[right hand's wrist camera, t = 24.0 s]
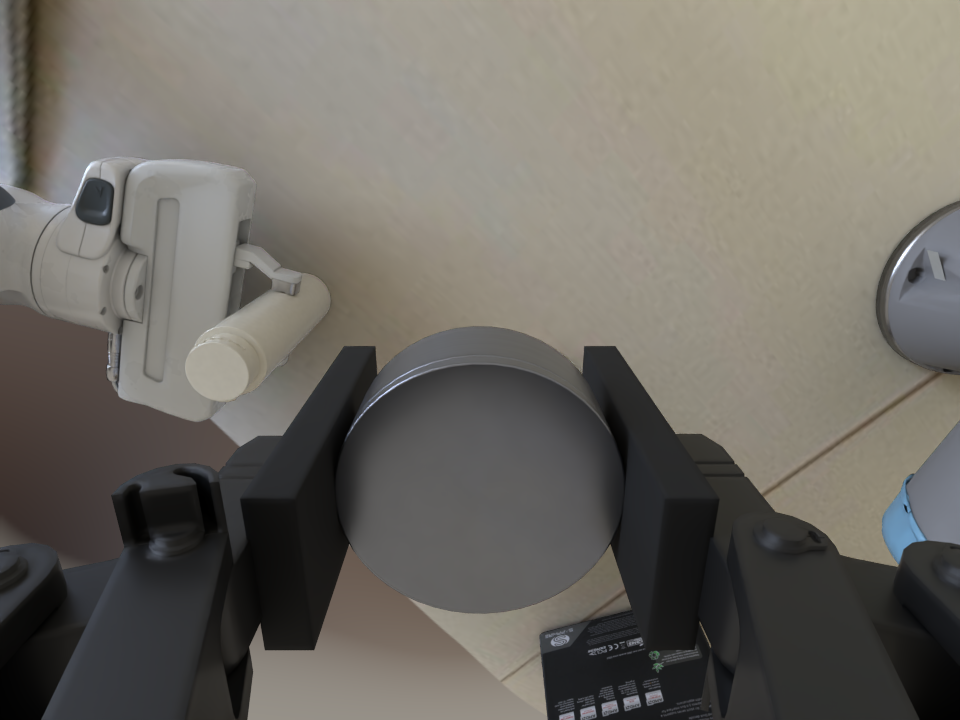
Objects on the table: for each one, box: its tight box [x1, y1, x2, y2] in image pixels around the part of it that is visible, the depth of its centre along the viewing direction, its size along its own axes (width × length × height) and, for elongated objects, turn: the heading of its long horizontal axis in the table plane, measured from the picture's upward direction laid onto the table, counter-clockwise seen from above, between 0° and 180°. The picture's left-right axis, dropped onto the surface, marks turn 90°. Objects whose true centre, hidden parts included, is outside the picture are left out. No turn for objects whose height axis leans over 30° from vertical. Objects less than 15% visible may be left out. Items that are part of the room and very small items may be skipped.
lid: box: [334, 326, 625, 613], centre depth 11 cm, size 5×5×2 cm
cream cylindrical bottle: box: [185, 273, 331, 402], centre depth 43 cm, size 5×5×18 cm
